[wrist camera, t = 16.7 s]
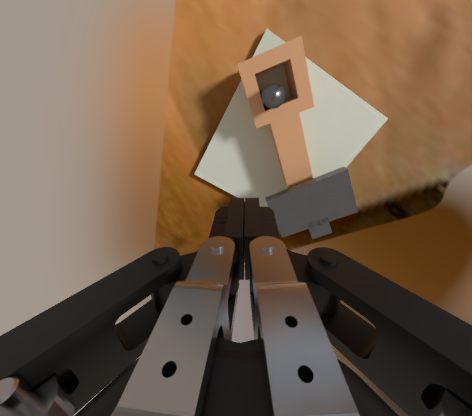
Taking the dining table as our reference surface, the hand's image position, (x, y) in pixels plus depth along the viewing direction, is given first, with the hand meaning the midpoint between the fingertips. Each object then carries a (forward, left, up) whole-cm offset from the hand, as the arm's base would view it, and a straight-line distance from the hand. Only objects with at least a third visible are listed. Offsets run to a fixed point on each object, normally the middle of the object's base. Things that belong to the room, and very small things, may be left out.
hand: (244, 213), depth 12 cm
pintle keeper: (0, +6, -19) cm, 20 cm away
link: (-4, +3, -18) cm, 18 cm away
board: (-2, +4, -19) cm, 19 cm away
